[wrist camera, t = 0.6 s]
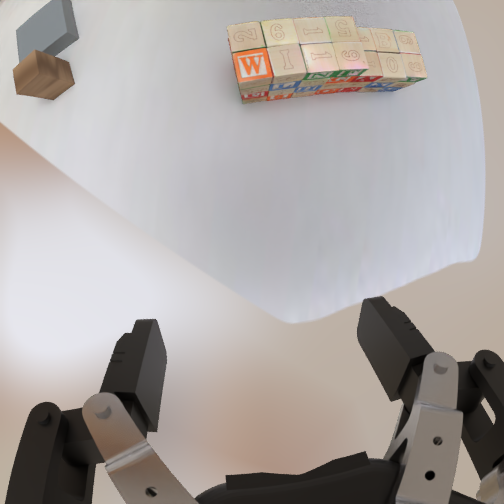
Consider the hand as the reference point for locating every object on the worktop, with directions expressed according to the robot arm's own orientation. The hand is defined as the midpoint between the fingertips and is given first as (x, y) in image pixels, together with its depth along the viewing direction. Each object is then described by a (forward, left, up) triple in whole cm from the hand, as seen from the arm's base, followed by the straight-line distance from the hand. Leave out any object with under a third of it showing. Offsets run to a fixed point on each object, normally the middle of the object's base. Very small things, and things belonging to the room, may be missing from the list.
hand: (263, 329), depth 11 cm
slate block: (-28, -35, -29) cm, 53 cm away
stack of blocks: (-18, +7, -29) cm, 35 cm away
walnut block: (-19, -31, -28) cm, 46 cm away
